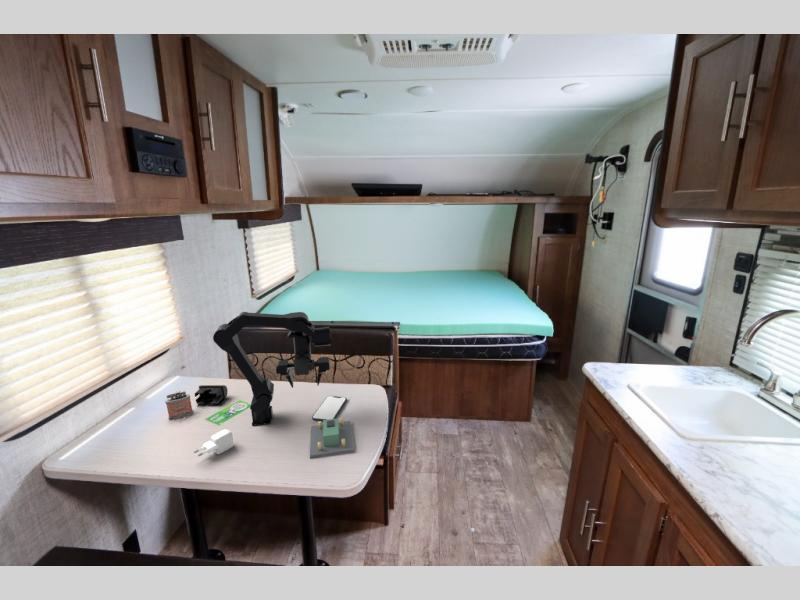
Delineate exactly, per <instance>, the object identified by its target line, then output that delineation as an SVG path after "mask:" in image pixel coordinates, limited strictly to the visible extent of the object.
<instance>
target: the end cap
mask: <svg viewBox="0 0 800 600" xmlns="http://www.w3.org/2000/svg"><path fill="white" fill-rule="evenodd" d="M194 397H195V398H196V397H197V398H196V399H195V404H196V405H197V407H220V406H222V404H223V403H224V402H225V401H226V399H227V397H228V387H227V385H225V384H222V385H219V384H218V385H217V384H213V385H212V384H211V385H210V384H209V385H207V384H206V385H205V384H202V385H201V384H200V385H198V390H197V391H196V392H195V393H194Z"/></svg>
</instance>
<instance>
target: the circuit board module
mask: <svg viewBox="0 0 800 600" xmlns="http://www.w3.org/2000/svg"><path fill="white" fill-rule="evenodd" d="M338 422H339V418H338V417H336V419H329V420H323V422H322V424H323V440H324V447H326V446H333V445H340V443H339V428H338Z"/></svg>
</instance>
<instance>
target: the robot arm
mask: <svg viewBox="0 0 800 600" xmlns="http://www.w3.org/2000/svg"><path fill="white" fill-rule="evenodd" d="M239 313H240V314H239V315H236V317H234V318H233V319H231V320H229V322H228V323H222V324H220V325H219V326H218V328H217V329H216V331H215V332H214V333H213V338H212V340H213V342H214V343H215V345H217V346H218V347H219V348H220V349H221V350H222V351H224V352H225V353H227V354H228V355H229V356H230V357H231V359H232V360H233V361H234V363H235V365H236V366H237V367H238V369H239V371H240V372H241V373H242V375H243V376H244V378H245V379H246V381H247V382H248V384H249V386H250V388H251V392H252V398H251V399H252V400H251V403H250V406H249V409H250V412H251V418H252V421H251V426H252V427H254V426H261V425H270V424H271V422H272V420H273V418H274V411H273V410H274V409H273V406H272V405H271V402H272V401H273V399H274V398H273V396H274V393H275V388H274V387H275V384H274V383H273V382H272V381H271V379H270V377H269V376H267V377H266V378H264V377H263V376H261V374H260V372H259V371H258V369H257V368H256V366H255V365H254V364H253V362H252V360H251V359H250V358H249V356H248V354H247V353H246V352H245V350H244V349H243V347H242V345H241V344H240V339H239V335H238V333H239V332H240V331H241V330H243V328H245V327H247V326H249V327H265V328H282V329H285V330H288V331H289V332H287V338H288V339H292V340H293V349H294V360H293V362H291V363H290V360H289V359H286V360H285V359H282V360H279V361H278V362H277V364H276V367H275V370H276V373H275V374H278V375H280V376H284V377H285V378H286V379H287V381H288V382H289V384H290V387H291V388H293V389H294V379H293V373H292V369H293V370H294V375H295V376H297V377H298V376H302V375H303V376H307V375H309V374H310V372H311V371H315V368H317V367H318V368H317V380H316V381H317V382H316V384H317V385H316V386H319V385H320V381H321V378H322V375H323V374H324V373H326V372H327V371H329V370H330V368H331V359H330V357H328V356H327V357H318V361H315V360H314V359H312V349H311V345H313V346H314V347H324V346H325V347H326V346H327V347H328V346H332V337H331V330H330V326H324V327H323V326H322V327H315V325H314V324H313V323H312V322H311V321H310V319H309V316H308V315H307V314H306V313H305V312H303V311H296V312H289V313H285V314H277V313H263V312H262V313H261V312H260V313H259V312H248V311H242V312H239ZM310 337H311V338H310Z"/></svg>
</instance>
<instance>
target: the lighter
mask: <svg viewBox="0 0 800 600" xmlns="http://www.w3.org/2000/svg"><path fill="white" fill-rule="evenodd" d="M164 403H165V405H166V408H167V413H168V420H170V421H173V420H177V419H181V418H184V417H188V416H190V415H192V414H193V413H194V410H193V405H192V401H191V394H189V393H187V392H186V390H181V391H180V390H176V392H171V393H168V394H166V400H164Z"/></svg>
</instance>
